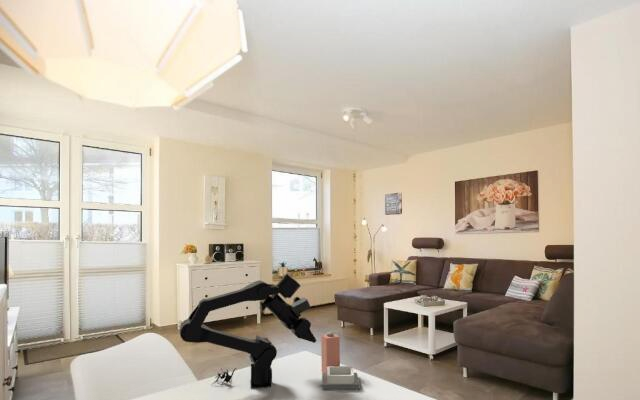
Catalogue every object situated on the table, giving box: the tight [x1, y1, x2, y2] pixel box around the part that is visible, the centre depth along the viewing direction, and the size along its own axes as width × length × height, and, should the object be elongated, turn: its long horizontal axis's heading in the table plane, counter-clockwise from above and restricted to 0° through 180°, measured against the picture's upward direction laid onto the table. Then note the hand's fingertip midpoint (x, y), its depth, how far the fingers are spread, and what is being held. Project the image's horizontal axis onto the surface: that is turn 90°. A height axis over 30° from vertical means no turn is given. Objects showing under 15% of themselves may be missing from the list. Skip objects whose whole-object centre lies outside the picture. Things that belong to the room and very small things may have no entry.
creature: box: [211, 367, 237, 386], centre depth 129 cm, size 8×5×8 cm
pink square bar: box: [320, 331, 341, 373], centre depth 137 cm, size 5×5×14 cm
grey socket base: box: [321, 365, 361, 391], centre depth 127 cm, size 12×10×4 cm
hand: (311, 338), depth 135 cm, fingers open, 9 cm apart
